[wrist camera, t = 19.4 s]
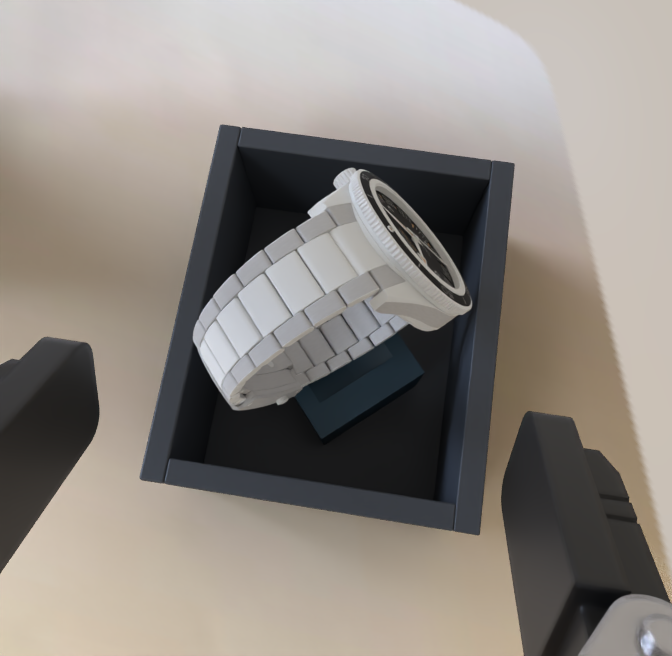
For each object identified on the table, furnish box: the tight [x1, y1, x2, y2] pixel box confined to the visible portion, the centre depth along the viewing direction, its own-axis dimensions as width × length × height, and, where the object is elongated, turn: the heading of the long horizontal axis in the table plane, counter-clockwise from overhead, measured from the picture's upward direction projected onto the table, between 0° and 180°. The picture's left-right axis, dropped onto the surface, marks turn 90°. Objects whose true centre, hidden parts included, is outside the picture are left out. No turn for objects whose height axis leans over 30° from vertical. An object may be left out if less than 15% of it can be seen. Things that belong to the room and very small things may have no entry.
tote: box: [140, 125, 515, 535], centre depth 23 cm, size 11×13×6 cm
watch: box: [193, 168, 472, 445], centre depth 20 cm, size 6×8×11 cm
